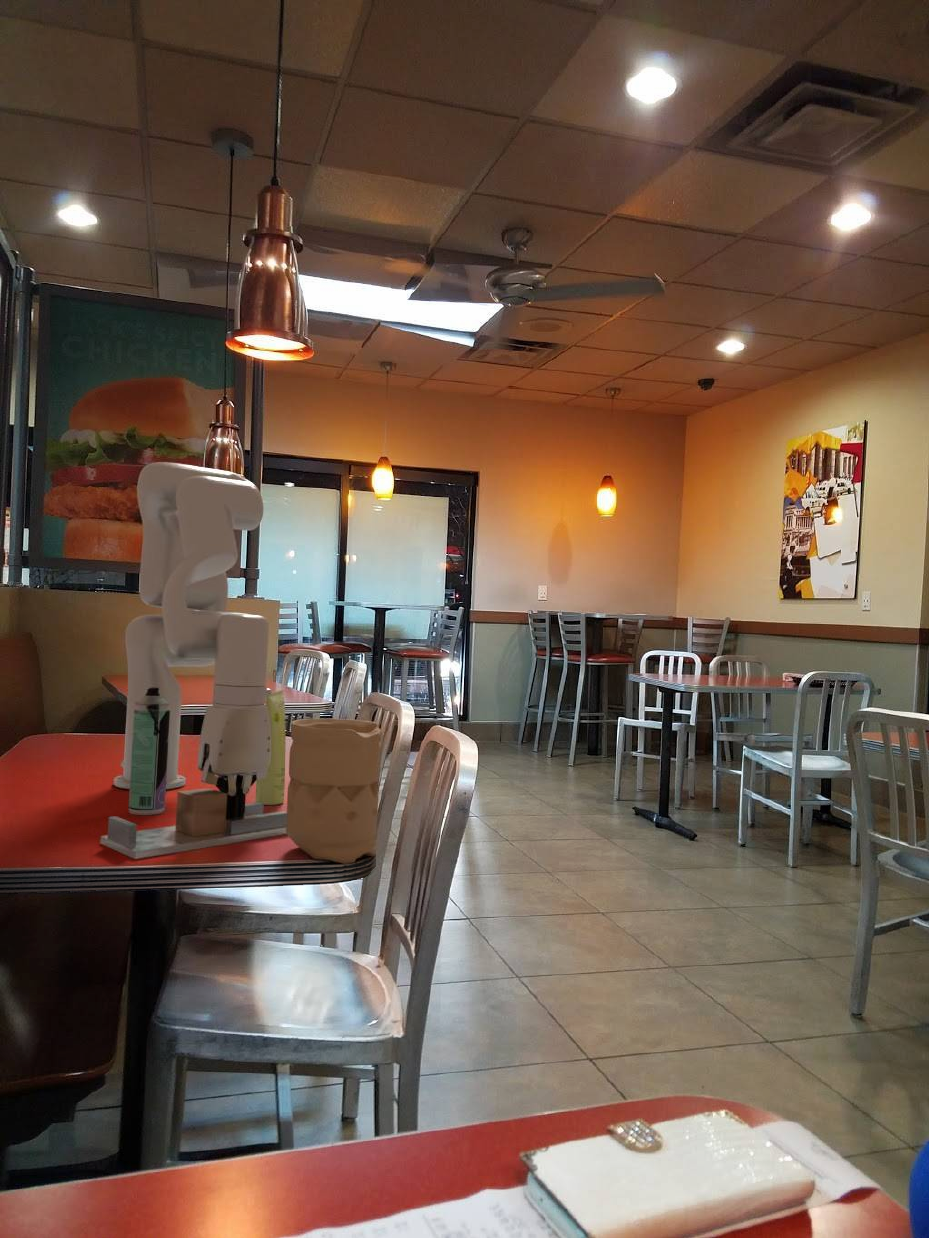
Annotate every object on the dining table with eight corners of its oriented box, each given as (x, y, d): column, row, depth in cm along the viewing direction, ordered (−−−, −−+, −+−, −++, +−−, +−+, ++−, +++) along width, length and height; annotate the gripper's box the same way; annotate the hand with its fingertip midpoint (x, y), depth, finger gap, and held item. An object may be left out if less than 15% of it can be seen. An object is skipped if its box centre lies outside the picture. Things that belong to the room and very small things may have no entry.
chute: (100, 843, 121) (102, 814, 121) (255, 820, 139) (256, 795, 139) (135, 859, 114) (137, 828, 114) (293, 832, 132) (294, 806, 132)
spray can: (170, 812, 142) (177, 688, 142) (138, 816, 138) (145, 689, 138) (154, 806, 145) (160, 685, 146) (122, 810, 141) (129, 686, 142)
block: (175, 829, 126) (177, 791, 126) (206, 825, 130) (208, 788, 130) (193, 836, 123) (195, 797, 123) (225, 831, 127) (227, 793, 127)
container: (387, 846, 127) (393, 722, 127) (357, 869, 115) (364, 731, 115) (306, 837, 130) (312, 716, 130) (268, 858, 118) (275, 724, 118)
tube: (289, 805, 152) (295, 692, 152) (261, 807, 149) (267, 692, 149) (277, 798, 157) (283, 689, 157) (250, 800, 154) (256, 689, 154)
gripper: (266, 693, 139) (260, 809, 138) (180, 695, 127) (173, 822, 127) (295, 698, 134) (289, 818, 133) (208, 700, 122) (201, 832, 122)
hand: (232, 820), depth 130 cm, fingers closed
